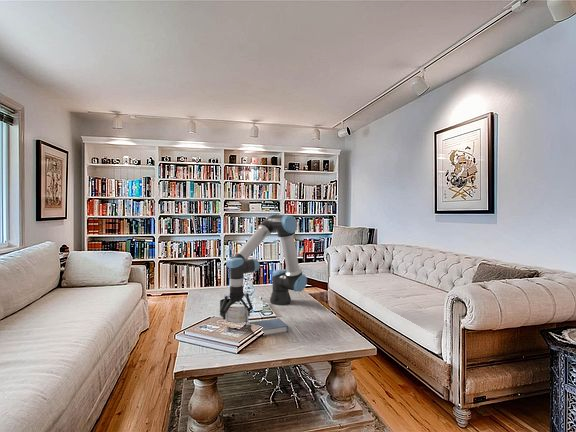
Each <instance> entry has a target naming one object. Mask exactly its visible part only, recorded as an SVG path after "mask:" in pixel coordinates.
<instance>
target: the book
mask: <svg viewBox="0 0 576 432" xmlns="http://www.w3.org/2000/svg"><path fill="white" fill-rule="evenodd" d="M248 323H249V325H250V324H255V325H259V326H263V328H262V329H261V331H263V332H264V334H263V336H262V337H264V336H270V335H277V334H282V333H287V332H289V325H288V324H287V323H286V322H285V321H283V320H282V319H281V318H280V317H279V318H278V317H277V318H271V319H263V320H258V321H257V320H256V321H251V322H249V321H248Z"/></svg>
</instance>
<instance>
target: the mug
mask: <svg viewBox="0 0 576 432" xmlns="http://www.w3.org/2000/svg"><path fill="white" fill-rule="evenodd" d="M223 301H224V298H223V299H220V301H219V309H220V308H221V306H222V303H223ZM229 301H230V297H229V298H228V299H227V302H226V305H225V307H226V306H227V304H228V303H229ZM233 304H238V302H233V303H232V304H231V305H233ZM225 307H224V309H225ZM226 313H227V312H226ZM219 316H221V317H223V313H220V312H219Z"/></svg>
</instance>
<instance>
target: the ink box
mask: <svg viewBox="0 0 576 432" xmlns="http://www.w3.org/2000/svg"><path fill="white" fill-rule="evenodd" d="M246 310H247V309H246V307H245V306H244V305H243V304H241V303H240V304H239V303H237V304H233V305H231V306H230V307H229V309H228V311H227V321H228V322H233V323H242V322H246ZM246 323H247V322H246Z"/></svg>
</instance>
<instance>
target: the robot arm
mask: <svg viewBox="0 0 576 432" xmlns="http://www.w3.org/2000/svg"><path fill="white" fill-rule="evenodd" d="M297 228H298V221H297V219H296V217H295V216H294V215H291V214H290V215H289V214H271V215H270V216H268V217H266V218H265V219H264V220H263V221H261V222H260V224H259V225H258V226H257V229H256V231H254V233H253V234H252V235H251V236H250V238H248V240H247V241H246V242H245V243H244V244H243V246H242V247H240V249H239V250H238V251H237V252H236V254H234V256H230V257H228V258H227V259H226V262H225V265H226V268H228V269H229V295H228V294H224V296H223V297H224V298H223V299H224V301H223V303H222V306H221V308H220V307H219V314H220V313H223V316H222V319H223V320H224V323H225V322H227V313H226V312H227V311H228V309H229V307H230V306H231V304H232V303H233V302H235V303H240V302H241V304H242V305H244V306H245V307H246V323H247V322H248V323H249V317H250V315H251V311H252V310H253V309H254V308H253V305H252V302H251V300H250V295H249V293H248V292H246V293H244V274H248V273H249V274H251V273H254V272H258V271H259V269H260V262H259V260H258V259H257V258H251V259H248V258H250V257H251V256H252V254H253V253H254V252H255V251H256V250H257V248H258V247H259V246H260V245H261V244H262V243H263V241H264V240H265V239H266V237H268V236H270V235H271V234H272V233H277V237H278V238H280V242H281V247H282V252H283V256H284V263H285V268H286V269H275V270H274V271H272V275H271V276H272V278H271V279H272V281H271V282H272V284H271V285H272V287H271V288H272V291H271V294H270V297H269V303H271V304H273V305H277V306H279V305H280V306H283V305H288V304H291V303H292V298H291V295H290V291H294V292H303V291H304V290H305V288H306V287H307V283H308V278H307V276H306V275H305V274H303V270H302V269H300V265H299V259H298V255H297V254H298V253H297V249H296V243H295V237H294V236H295V235H296V232H297V230H298V229H297ZM244 297H245V298H246V302H247V303H246V302H245V300H244V299H243V298H244ZM228 298H230V301H229V303H228V304H227V306H226V307H225V305H226V302H227V299H228ZM247 304H248V305H247ZM224 307H225V309H224Z"/></svg>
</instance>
